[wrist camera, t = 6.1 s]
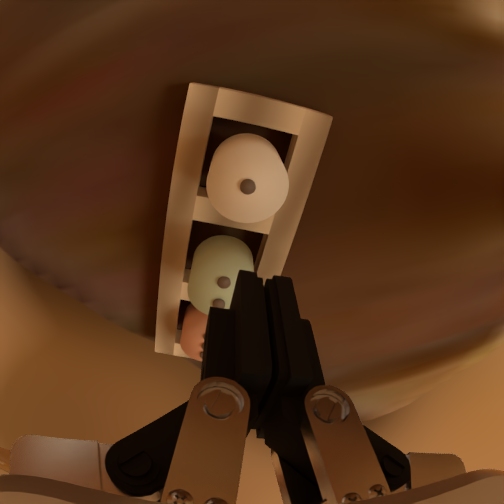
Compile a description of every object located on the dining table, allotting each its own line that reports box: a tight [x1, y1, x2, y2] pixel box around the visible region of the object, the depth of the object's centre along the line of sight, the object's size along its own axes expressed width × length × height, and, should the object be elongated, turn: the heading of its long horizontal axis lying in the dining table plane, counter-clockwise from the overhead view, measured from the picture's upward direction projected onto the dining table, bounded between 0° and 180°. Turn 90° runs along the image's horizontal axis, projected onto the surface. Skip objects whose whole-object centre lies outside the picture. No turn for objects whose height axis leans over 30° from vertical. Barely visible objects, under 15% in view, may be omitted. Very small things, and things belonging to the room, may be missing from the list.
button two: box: [187, 235, 254, 315], centre depth 24 cm, size 5×5×4 cm
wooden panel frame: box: [155, 82, 333, 358], centre depth 27 cm, size 10×26×2 cm, turn 166°
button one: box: [206, 133, 289, 223], centre depth 20 cm, size 5×5×4 cm
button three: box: [180, 303, 208, 361], centre depth 30 cm, size 5×5×4 cm
